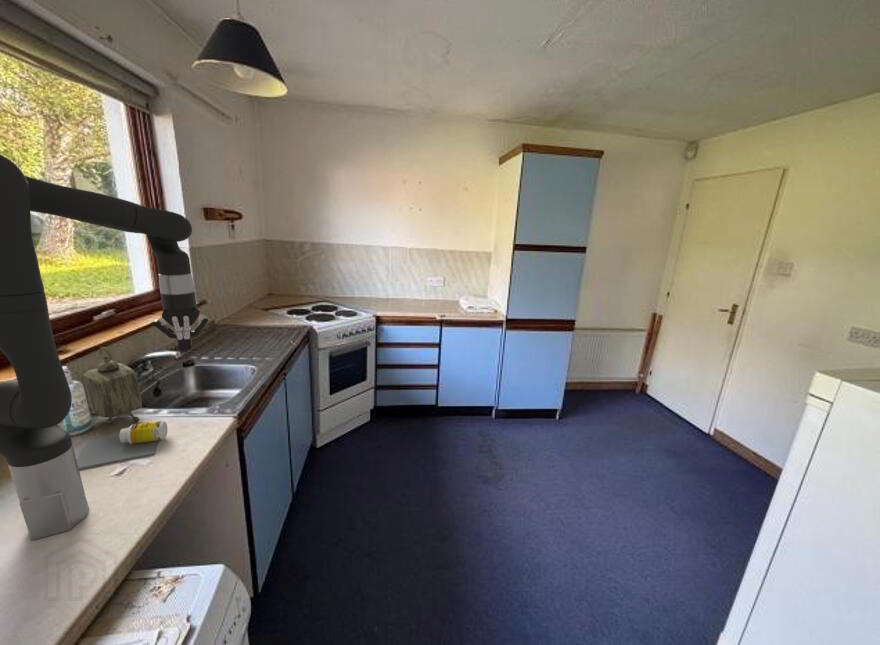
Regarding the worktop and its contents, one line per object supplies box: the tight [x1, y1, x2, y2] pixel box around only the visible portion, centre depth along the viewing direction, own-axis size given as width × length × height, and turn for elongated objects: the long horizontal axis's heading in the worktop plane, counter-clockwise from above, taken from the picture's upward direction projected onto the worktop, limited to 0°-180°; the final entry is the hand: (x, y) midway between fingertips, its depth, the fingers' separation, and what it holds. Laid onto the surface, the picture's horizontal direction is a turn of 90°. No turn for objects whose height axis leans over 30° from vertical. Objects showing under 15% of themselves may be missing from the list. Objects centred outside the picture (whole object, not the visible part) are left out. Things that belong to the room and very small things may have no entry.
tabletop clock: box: [81, 346, 143, 425], centre depth 114 cm, size 14×9×25 cm, turn 61°
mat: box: [76, 434, 160, 471], centre depth 104 cm, size 14×18×1 cm
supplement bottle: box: [119, 420, 168, 444], centre depth 106 cm, size 6×6×10 cm
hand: (186, 350), depth 102 cm, fingers closed
